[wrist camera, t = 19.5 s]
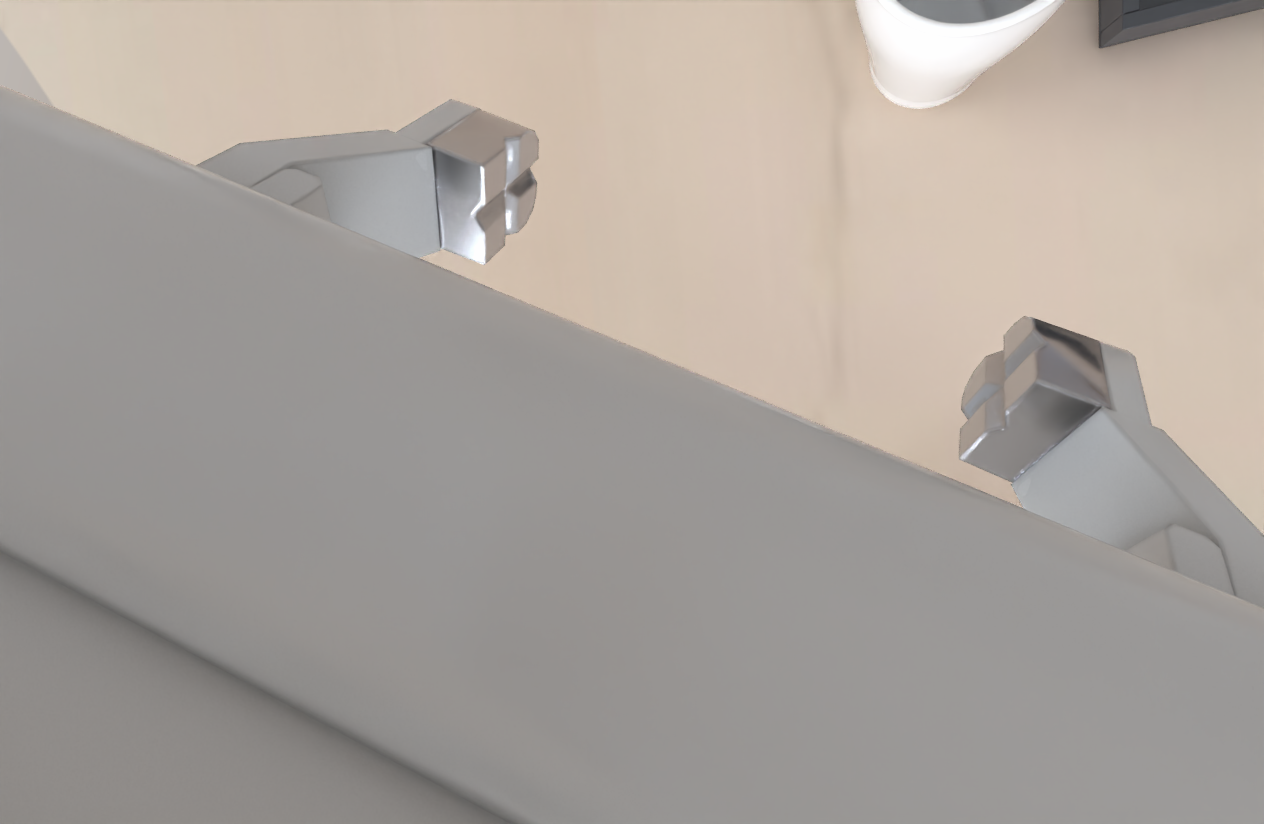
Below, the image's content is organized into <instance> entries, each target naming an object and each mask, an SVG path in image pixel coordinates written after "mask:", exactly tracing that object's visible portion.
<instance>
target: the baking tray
mask: <svg viewBox="0 0 1264 824" xmlns="http://www.w3.org/2000/svg"><path fill="white" fill-rule="evenodd" d="M1262 8H1264V0H1099V48H1104V47H1108V46H1112V45H1116V44H1120V43H1124V42H1128V41H1132V40H1136V39H1140V38H1144V37H1148V36H1153V35H1157V34H1161V33H1165V32H1169V31H1173V30H1177V29H1181V28H1185V27H1189V26H1193V25H1197V24H1201V23H1205V22H1210V21H1214V20H1218V19H1222V18H1226V17H1230V16H1234V15H1238V14H1242V13H1246V12H1250V11H1254V10H1258V9H1262Z"/></svg>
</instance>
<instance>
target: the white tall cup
mask: <svg viewBox="0 0 1264 824" xmlns="http://www.w3.org/2000/svg"><path fill="white" fill-rule="evenodd" d="M1065 1H1066V0H855V4H856V10H857V14H858V18H859V21H860V25H861V29H862V32H863V36H864V39H865V42H866V46H867V50H868V54H869V57H868V58H869V68H870V73H871V76H872V79H873V81H874V83H875V85H876V87H877V88H878V90H879V91H880V92H881V93H882V94H883V95H884V96H885V97H886V98H887V99H888V100H890V101H891V102H893V103H895V104H897V105H899V106H902V107H906V108H912V109H924V108H930V107H935V106H938V105H941V104H943V103H946V102H948V101H950V100H952V99H953V98H955V97H957V96H958V95H959V94H961V93H962V92H963V91H965V90H966V89H967V88H968V87H969V86H970V85H971V84H972V83H973V82H974V81H975V80H976V78H978V77H979V76H980V75H981V74H983V73H984V72H985V71H987V70H988V69H989V68H991V67H992V66H993V65H995V64H996V63H998V62H999V61H1000V60H1002V59H1003V58H1004V57H1006V56H1007V55H1008V54H1010V53H1011V52H1012V51H1014V50H1015V49H1016V48H1018V47H1019V46H1020V45H1022V44H1023V43H1024V42H1025V41H1026V40H1027V39H1028V38H1030V37H1031V36H1032V35H1033V34H1034V33H1035V32H1036V31H1038V30H1039V29H1040V28H1041V27H1042V26H1043V25H1044V24H1045V23H1046V22H1047V21H1048V20H1049V19H1050V18H1051V17H1052V16H1053V14H1054V13H1055V12H1056V11H1057V10H1058V9H1059V8H1060V7H1061V6H1062V4H1063V3H1064V2H1065Z"/></svg>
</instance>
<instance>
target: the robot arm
mask: <svg viewBox="0 0 1264 824" xmlns="http://www.w3.org/2000/svg"><path fill="white" fill-rule="evenodd" d="M538 150H539V139H538V137H537V135H536V133H535V131H534V130H531V129H529V128H526V127H524V126H521V125H519V124H516V123H514V122H511V121H509V120H506V119H504V118H501V117H499V116H496V115H494V114H491V113H489V112H486V111H483V110H481V109H480V108H477V107H474V106H471V105H468V104H465V103H463V102H460V101H456V100H452V99H450V100H448V101H447V102H445V103H443V104H442V105H440V106H438V107H437V108H435V109H433V110H432V111H430V112H429V113H427V114H425V115H424V116H422V117H420V118H419V119H417V120H415V121H414V122H412V123H410V124H409V125H407V126H406V127H404V128H402V129H401V130H399V131H397V132H396V133H395V132H392V131H389V130H378V131H367V132H356V133H345V134H334V135H323V136H313V137H302V138H291V139H280V140H269V141H258V142H247V143H239V144H237V145H235V146H234V147H232V148H230V149H228V150H226V151H224V152H222V153H220V154H218V155H216V156H214V157H212V158H210V159H208V160H206V161H204V162H202V163H200V164H198V165H196V166H195V165H193V164H190V163H188V162H185V161H183V160H181V159H178V158H176V157H173V156H171V155H168V154H166V153H164V152H161V151H159V150H156V149H154V148H152V147H149V146H147V145H144V144H142V143H139V142H137V141H135V140H132V139H130V138H127V137H125V136H123V135H120V134H118V133H115V132H113V131H111V130H108V129H106V128H103V127H101V126H98V125H96V124H94V123H91V122H89V121H86V120H84V119H82V118H79V117H77V116H74V115H72V114H70V113H67V112H65V111H62V110H60V109H57V108H55V107H53V106H50V105H48V104H45V103H43V102H40V101H38V100H35V99H33V98H31V97H28V96H26V95H23V94H21V93H19V92H16V91H14V90H12V89H9V88H7V87H4V86H2V85H0V824H1264V535H1263V534H1262V533H1261V532H1260V531H1259V530H1258V529H1257V528H1256V527H1255V526H1254V525H1253V524H1252V523H1251V522H1250V520H1249V519H1248V518H1247V517H1246V516H1245V515H1244V514H1243V513H1242V512H1241V511H1240V510H1239V509H1238V508H1237V507H1236V506H1235V505H1234V504H1233V503H1232V502H1231V501H1230V500H1229V499H1228V497H1227V496H1226V495H1225V494H1224V493H1223V492H1222V491H1221V490H1220V489H1219V488H1218V487H1217V486H1216V485H1215V484H1214V483H1213V482H1212V481H1211V480H1210V479H1209V478H1208V477H1207V476H1206V474H1205V473H1204V472H1203V471H1202V470H1201V469H1200V468H1199V467H1198V466H1197V465H1196V464H1195V463H1194V462H1193V461H1192V460H1191V459H1190V458H1189V457H1188V456H1187V455H1186V454H1185V453H1184V451H1183V450H1182V449H1181V448H1180V447H1179V446H1178V445H1177V444H1176V443H1175V442H1174V441H1173V440H1172V439H1171V438H1170V437H1169V436H1168V435H1167V434H1166V433H1165V432H1164V431H1163V430H1162V429H1159V428H1156V427H1154V426H1152V424H1151V420H1150V416H1149V412H1148V408H1147V404H1146V400H1145V395H1144V391H1143V387H1142V383H1141V379H1140V375H1139V371H1138V366H1137V362H1136V358H1135V356H1134V355H1133V354H1131V353H1130V352H1129V351H1127V350H1124V349H1121V348H1118V347H1115V346H1112V345H1109V344H1106V343H1103V342H1100V341H1098V340H1095V339H1092V338H1089V337H1086V336H1084V335H1081V334H1078V333H1075V332H1072V331H1069V330H1066V329H1063V328H1061V327H1058V326H1055V325H1052V324H1049V323H1046V322H1043V321H1040V320H1038V319H1035V318H1032V317H1026V316H1024V317H1022V318H1021V319H1020V320H1018V321H1017V322H1016V323H1014V325H1013V326H1012V327H1011V328H1010V329H1009V330H1008V331H1007V332H1006V334H1005V335H1004V350H1003V351H1000V352H997V353H994V354H991V355H988V356H986V357H985V358H984V359H983V360H982V362H981V363H980V364H979V365H978V367H977V368H976V369H975V370H974V372H973V374H972V375H971V377H970V379H969V381H968V383H967V385H966V387H965V390H964V393H963V397H962V405H961V410H962V411H963V413H964V414H965V416H966V417H967V419H968V421H967V422H966V423H965V424H964V425H963V426H962V427H961V429H960V444H959V459H960V460H962V461H964V462H967V463H969V464H971V465H973V466H976V467H978V468H980V469H983V470H985V471H987V472H989V473H992V474H994V475H996V476H999V477H1001V478H1003V479H1005V480H1008V481H1010V482H1012V484H1011V485H1012V487H1013V489H1014V491H1015V493H1016V495H1017V497H1018V499H1019V501H1020V503H1021V504H1022V506H1023V508H1024V509H1023V508H1021V507H1019V506H1016V505H1014V504H1011V503H1009V502H1007V501H1004V500H1002V499H999V498H997V497H994V496H992V495H990V494H987V493H985V492H982V491H980V490H978V489H975V488H973V487H970V486H968V485H965V484H963V483H961V482H958V481H956V480H953V479H951V478H949V477H946V476H944V475H941V474H939V473H936V472H934V471H932V470H929V469H927V468H924V467H922V466H920V465H917V464H915V463H912V462H910V461H907V460H905V459H903V458H900V457H898V456H895V455H893V454H891V453H888V452H886V451H883V450H881V449H878V448H876V447H874V446H871V445H869V444H866V443H864V442H862V441H859V440H857V439H854V438H852V437H849V436H847V435H845V434H842V433H840V432H837V431H835V430H833V429H830V428H828V427H825V426H823V425H820V424H818V423H816V422H813V421H811V420H808V419H806V418H804V417H801V416H799V415H796V414H794V413H791V412H789V411H787V410H784V409H782V408H779V407H777V406H775V405H772V404H770V403H767V402H765V401H762V400H760V399H758V398H755V397H753V396H750V395H748V394H746V393H743V392H741V391H738V390H736V389H734V388H731V387H729V386H726V385H724V384H721V383H719V382H717V381H714V380H712V379H709V378H707V377H705V376H702V375H700V374H697V373H695V372H692V371H690V370H688V369H685V368H683V367H680V366H678V365H676V364H673V363H671V362H668V361H666V360H663V359H661V358H659V357H656V356H654V355H651V354H649V353H647V352H644V351H642V350H639V349H637V348H634V347H632V346H630V345H627V344H625V343H622V342H620V341H618V340H615V339H613V338H610V337H608V336H606V335H603V334H601V333H598V332H596V331H593V330H591V329H589V328H586V327H584V326H581V325H579V324H577V323H574V322H572V321H569V320H567V319H564V318H562V317H560V316H557V315H555V314H552V313H550V312H548V311H545V310H543V309H540V308H538V307H535V306H533V305H531V304H528V303H526V302H523V301H521V300H519V299H516V298H514V297H511V296H509V295H506V294H504V293H502V292H499V291H497V290H494V289H492V288H490V287H487V286H485V285H482V284H480V283H478V282H475V281H473V280H470V279H468V278H465V277H463V276H461V275H458V274H456V273H453V272H451V271H449V270H446V269H444V268H441V267H439V266H436V265H434V264H432V263H429V262H427V261H424V260H422V259H420V257H423V256H426V255H429V254H432V253H435V252H438V251H440V248H441V249H444V250H446V251H449V252H452V253H454V254H457V255H460V256H462V257H465V258H468V259H470V260H473V261H476V262H478V263H481V264H484V265H485V264H486V263H487V262H488V261H489V260H490V259H491V258H492V257H493V256H494V255H495V254H496V253H497V252H499V251H500V250H501V249H502V248H503V247H504V246H505V235H509V234H513V233H518V232H519V231H520V230H521V229H522V228H523V226H524V225H525V224H526V223H527V221H528V219H529V217H530V215H531V213H532V211H533V208H534V203H535V199H536V191H537V182H536V180H535V178H534V176H533V174H532V172H531V170H530V167H531V166H532V165H533V164H534V163H535V162H536V161H537V159H538Z"/></svg>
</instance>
